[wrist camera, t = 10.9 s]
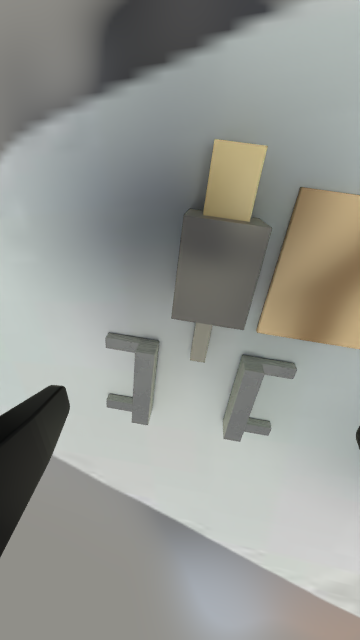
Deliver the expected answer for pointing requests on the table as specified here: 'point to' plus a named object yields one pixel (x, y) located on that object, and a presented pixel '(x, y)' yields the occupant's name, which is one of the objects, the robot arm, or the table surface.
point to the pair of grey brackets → (238, 402)
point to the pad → (318, 272)
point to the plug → (222, 246)
